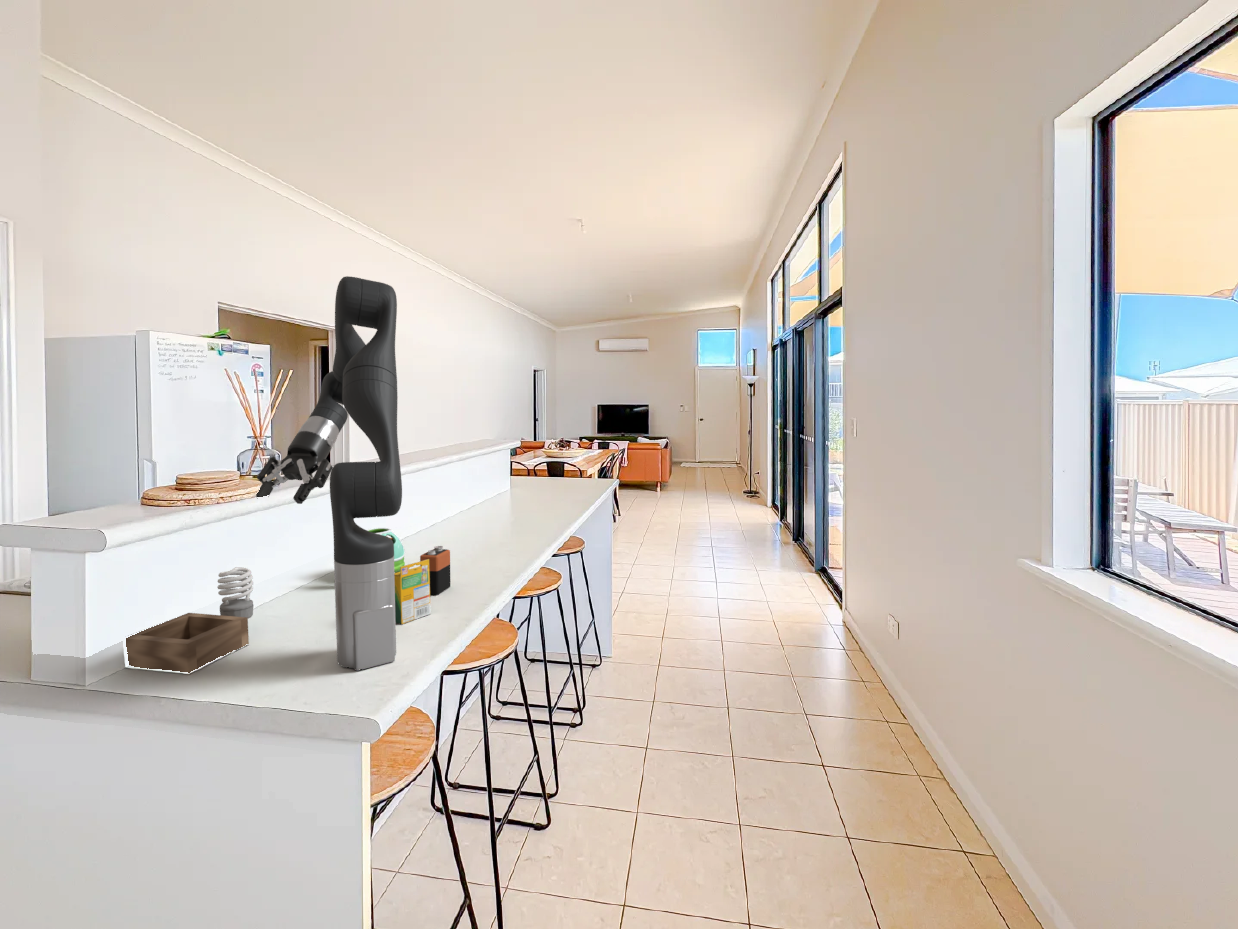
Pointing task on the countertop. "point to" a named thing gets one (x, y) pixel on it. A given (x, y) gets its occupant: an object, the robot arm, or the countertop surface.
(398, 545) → the turtle holder
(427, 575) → the crayon box
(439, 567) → the battery
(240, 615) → the light bulb
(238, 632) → the square brown bulb holder
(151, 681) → the countertop surface
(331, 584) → the countertop surface
